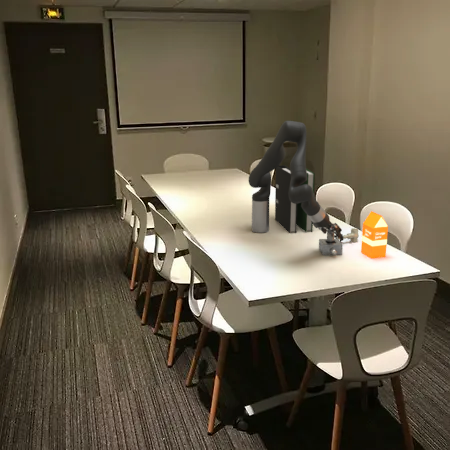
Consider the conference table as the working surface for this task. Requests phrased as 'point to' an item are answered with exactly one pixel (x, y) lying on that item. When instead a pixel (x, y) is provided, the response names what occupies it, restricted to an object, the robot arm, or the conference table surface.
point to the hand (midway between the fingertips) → (332, 234)
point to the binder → (284, 208)
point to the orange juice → (374, 236)
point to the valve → (350, 236)
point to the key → (330, 236)
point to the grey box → (330, 247)
